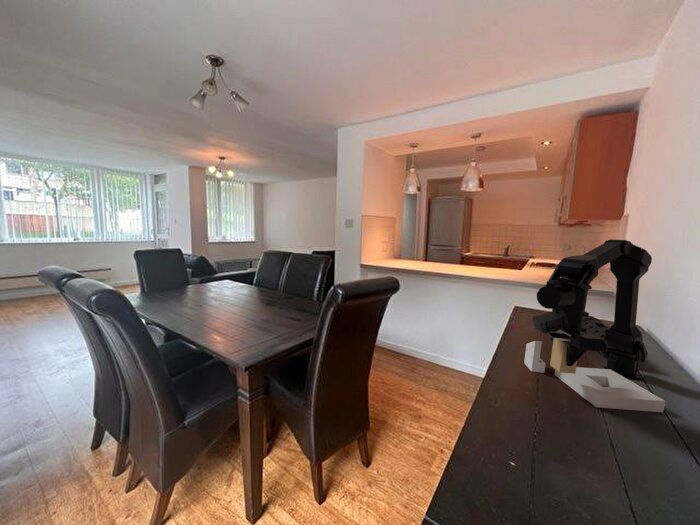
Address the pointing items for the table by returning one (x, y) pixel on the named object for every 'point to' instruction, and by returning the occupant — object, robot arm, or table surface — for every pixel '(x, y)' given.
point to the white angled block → (534, 357)
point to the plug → (561, 357)
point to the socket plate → (611, 390)
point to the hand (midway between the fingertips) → (563, 362)
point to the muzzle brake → (595, 330)
